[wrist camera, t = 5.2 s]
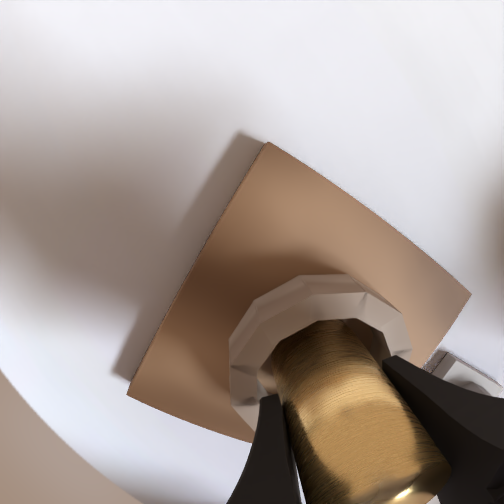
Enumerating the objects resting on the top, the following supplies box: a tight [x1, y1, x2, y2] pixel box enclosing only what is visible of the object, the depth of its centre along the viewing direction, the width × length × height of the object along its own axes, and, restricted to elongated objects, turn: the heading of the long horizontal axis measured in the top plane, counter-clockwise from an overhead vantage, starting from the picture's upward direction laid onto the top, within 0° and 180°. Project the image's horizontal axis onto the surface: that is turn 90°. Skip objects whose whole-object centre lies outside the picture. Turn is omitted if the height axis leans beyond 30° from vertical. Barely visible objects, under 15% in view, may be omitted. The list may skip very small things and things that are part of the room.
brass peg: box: [271, 319, 451, 504], centre depth 9 cm, size 4×4×8 cm
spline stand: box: [432, 353, 504, 397], centre depth 16 cm, size 9×9×3 cm
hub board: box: [126, 142, 471, 444], centre depth 13 cm, size 13×13×3 cm
